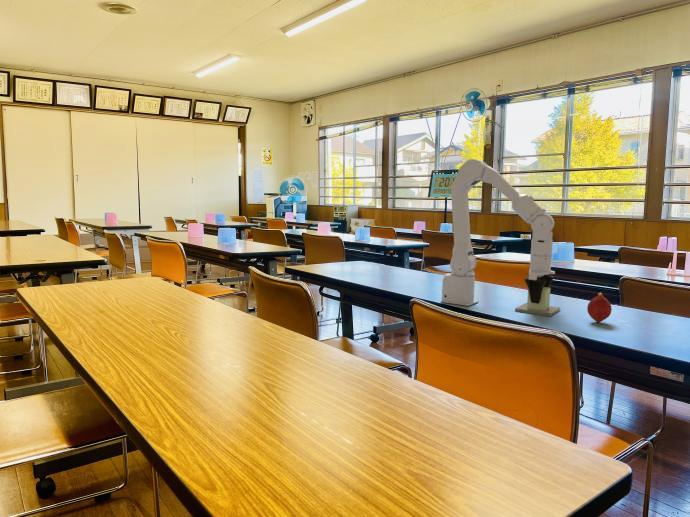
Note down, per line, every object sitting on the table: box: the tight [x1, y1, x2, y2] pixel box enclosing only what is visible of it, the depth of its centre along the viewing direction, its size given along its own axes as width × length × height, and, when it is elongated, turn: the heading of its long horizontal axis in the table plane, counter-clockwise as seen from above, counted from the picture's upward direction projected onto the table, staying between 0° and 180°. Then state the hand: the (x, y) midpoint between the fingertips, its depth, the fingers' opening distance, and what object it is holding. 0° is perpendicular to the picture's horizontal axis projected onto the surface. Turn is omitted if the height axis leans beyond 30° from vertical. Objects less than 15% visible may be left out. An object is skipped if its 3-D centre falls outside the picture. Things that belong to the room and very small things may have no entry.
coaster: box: [514, 302, 561, 317], centre depth 149 cm, size 10×10×1 cm
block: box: [526, 287, 551, 311], centre depth 149 cm, size 5×5×6 cm
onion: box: [586, 292, 613, 323], centre depth 136 cm, size 6×6×8 cm
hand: (538, 301), depth 149 cm, fingers open, 6 cm apart
